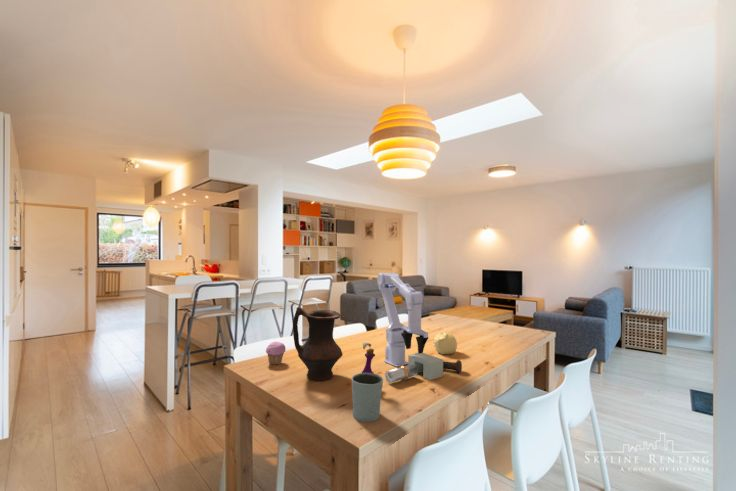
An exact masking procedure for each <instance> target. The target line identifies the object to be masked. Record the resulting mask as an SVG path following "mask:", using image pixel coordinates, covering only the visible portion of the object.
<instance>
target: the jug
mask: <svg viewBox="0 0 736 491" xmlns="http://www.w3.org/2000/svg"><path fill="white" fill-rule="evenodd" d="M300 316H302V317H305V318H306V320H307V321H308V337H307V340H306V341H305V343H304V344H303V345H302V344H300V337H299V329H298V328H299V327H298V325H299V324H298V323H299V318H300ZM340 318H341V314H340V313H339V312H338V311H336V310H330V309H317V310H315V309H314V310H310V311H305V309H303V307H301V306H299V305H298V306H297V307H296V310H295V313H294V316H293V319H292V331H293V332H292V335H293V336H292V337H293V342H294V348H295V350H296V353H297V355H298V357H299V359H300V360H301V361H302V363H303V364H304V365H305V366H306V368H307V372H306V377H307V379H309V380H310V381H314V382H324V381H327V380H330V379H332V378H333V377H334V373H333V368H334V366H335V365H336V363H337V362H338V361H339V360H340V359H341V358H342V357H343V354H344V353H343V351H342V349H341V347H340V345H339V344H337V342H336V341H335V338H334V327H335V326H334V325H335V322H336V320H338V319H340Z"/></svg>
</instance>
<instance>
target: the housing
mask: <svg viewBox="0 0 736 491" xmlns="http://www.w3.org/2000/svg"><path fill="white" fill-rule="evenodd" d="M443 361H444V359H443V358H439V357H437V356H434V355H431V354H427V353H424V352H423V353H418V352H416V353H413V354H409V355H408V361H407V362H408V364H407V366H408V365H411V364H414V365H416V367H417V369H418V373H421V372H422V373H423V376H422V377H423V378H424V379H427V380H429V381H432V380H435V379H438V378H442V377H444V369H443Z"/></svg>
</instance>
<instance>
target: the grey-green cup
mask: <svg viewBox="0 0 736 491" xmlns="http://www.w3.org/2000/svg"><path fill="white" fill-rule="evenodd" d="M373 373H374V372H373ZM373 373H362V372H360V373H356V374H354V375H352V377H351V389H352V390H351V391H352V392H351V393H352V417H353V419H355V420H356V421H358V422H362V423H369V422H370V423H371V422H375V421H377V420H378V419H379V418H380V413H381V412H380V411H381V401H382V394H383V393H382V392H383V385H384V384H383V383H384V378H383V377H382V376H381V375H379V374H377V373H374V374H373Z"/></svg>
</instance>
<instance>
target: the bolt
mask: <svg viewBox="0 0 736 491" xmlns="http://www.w3.org/2000/svg"><path fill="white" fill-rule="evenodd" d="M462 365H463V364H462V361H461V360H459V359H457V360H456V362H452V361H451V362H450V361H444V360H443V370H450V371H451V370H452V371H455V374H461V373H462V370H463V366H462Z"/></svg>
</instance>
